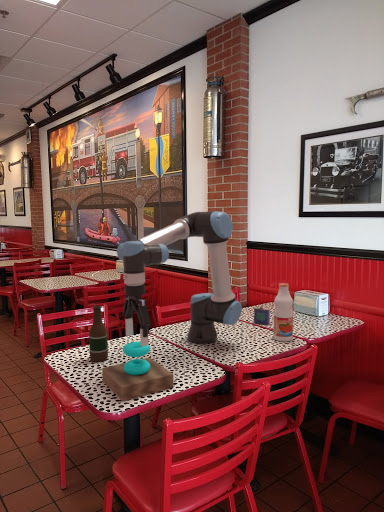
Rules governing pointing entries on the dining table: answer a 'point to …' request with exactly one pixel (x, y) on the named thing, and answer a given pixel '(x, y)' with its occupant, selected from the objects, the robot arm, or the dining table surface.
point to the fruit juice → (283, 314)
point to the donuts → (136, 364)
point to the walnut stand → (137, 380)
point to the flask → (261, 316)
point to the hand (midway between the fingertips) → (136, 340)
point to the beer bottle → (98, 337)
